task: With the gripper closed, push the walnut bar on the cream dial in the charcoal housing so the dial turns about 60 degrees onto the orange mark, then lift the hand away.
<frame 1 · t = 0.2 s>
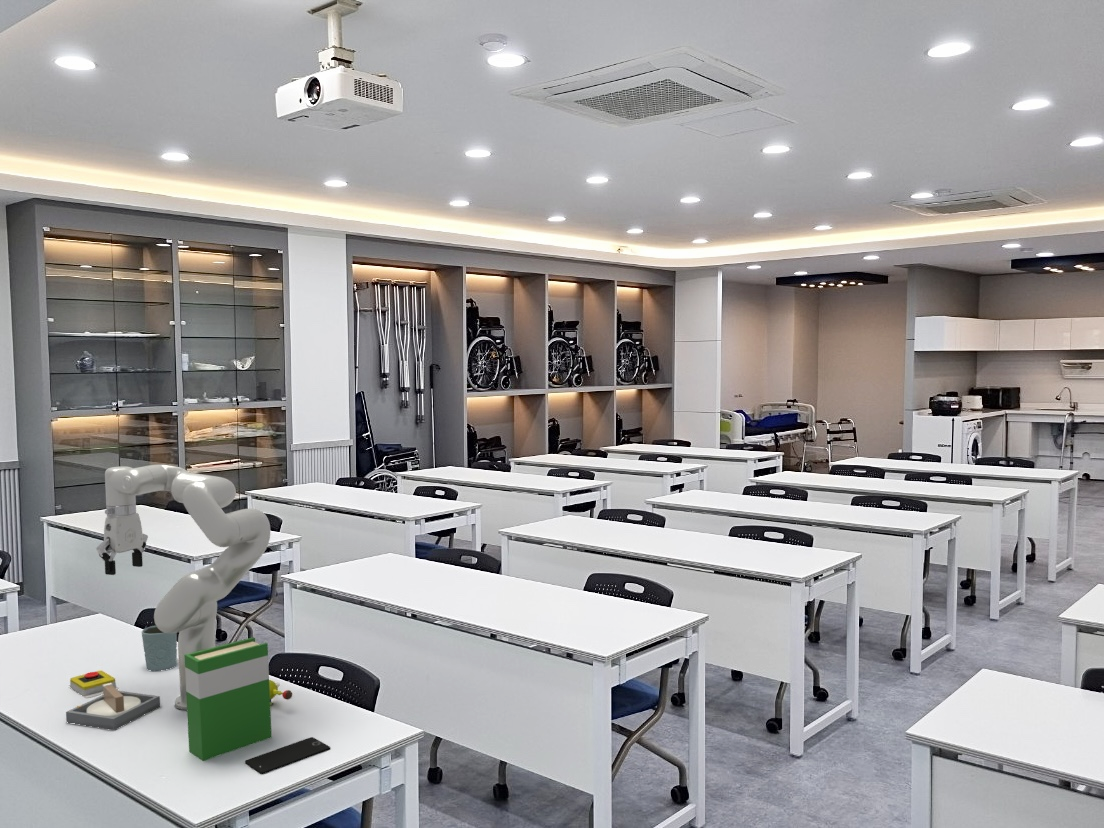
hand: (124, 570, 254), 36 cm above the table, tool pointing down, fingers open, 9 cm apart
toy figure: (268, 705, 245), on the table
dial housing: (114, 714, 241), on the table
hardback book: (231, 745, 221), on the table
emergency button: (93, 690, 261), on the table
cell phone: (288, 758, 214), on the table
teal cup: (161, 667, 278), on the table
dial: (113, 700, 240), point 4 cm above the table, hinge at 0.0°
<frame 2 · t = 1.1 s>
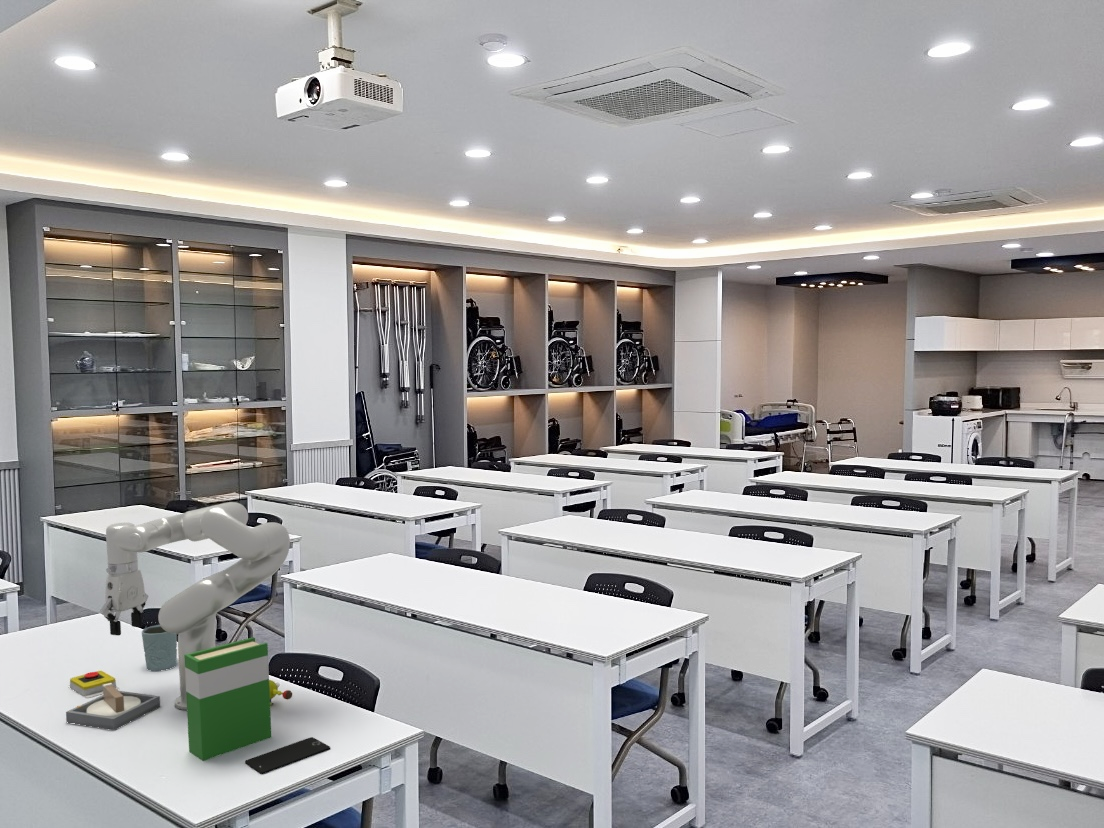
hand: (126, 630, 250), 20 cm above the table, tool pointing down, fingers open, 6 cm apart
nothing on the table moved.
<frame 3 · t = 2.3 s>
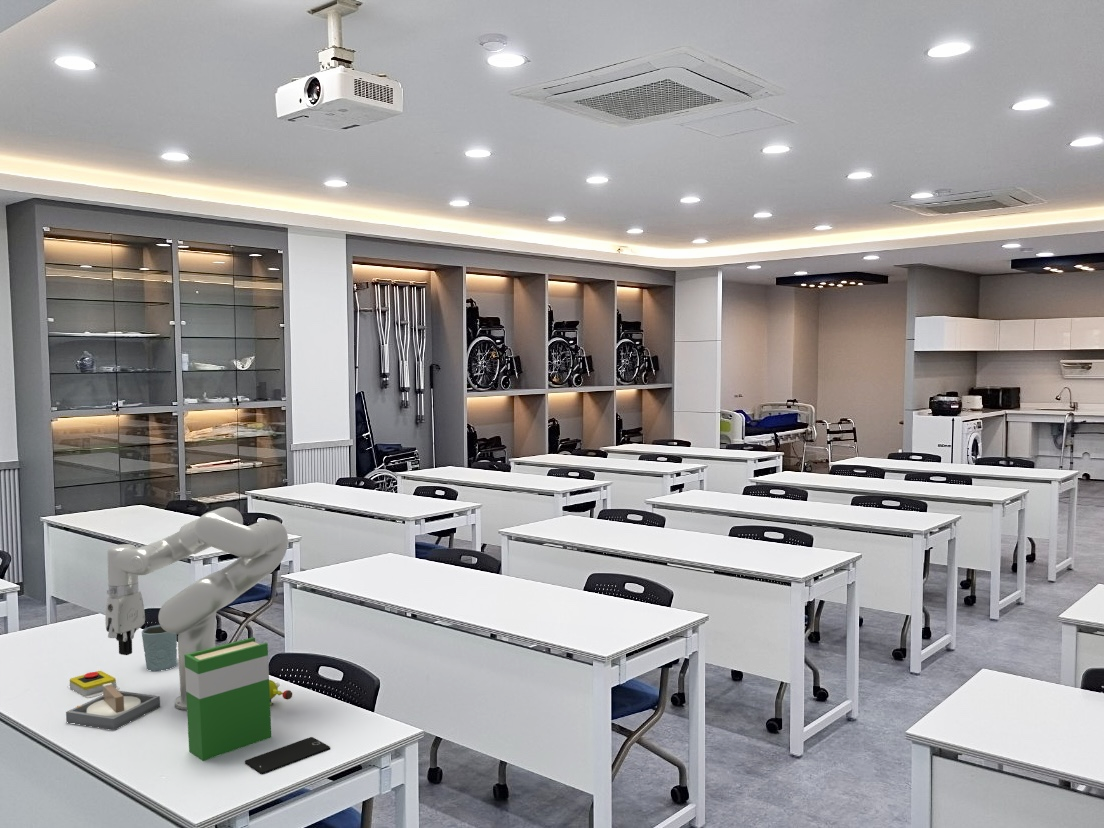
hand: (125, 653, 251), 13 cm above the table, tool pointing down, fingers closed
nothing on the table moved.
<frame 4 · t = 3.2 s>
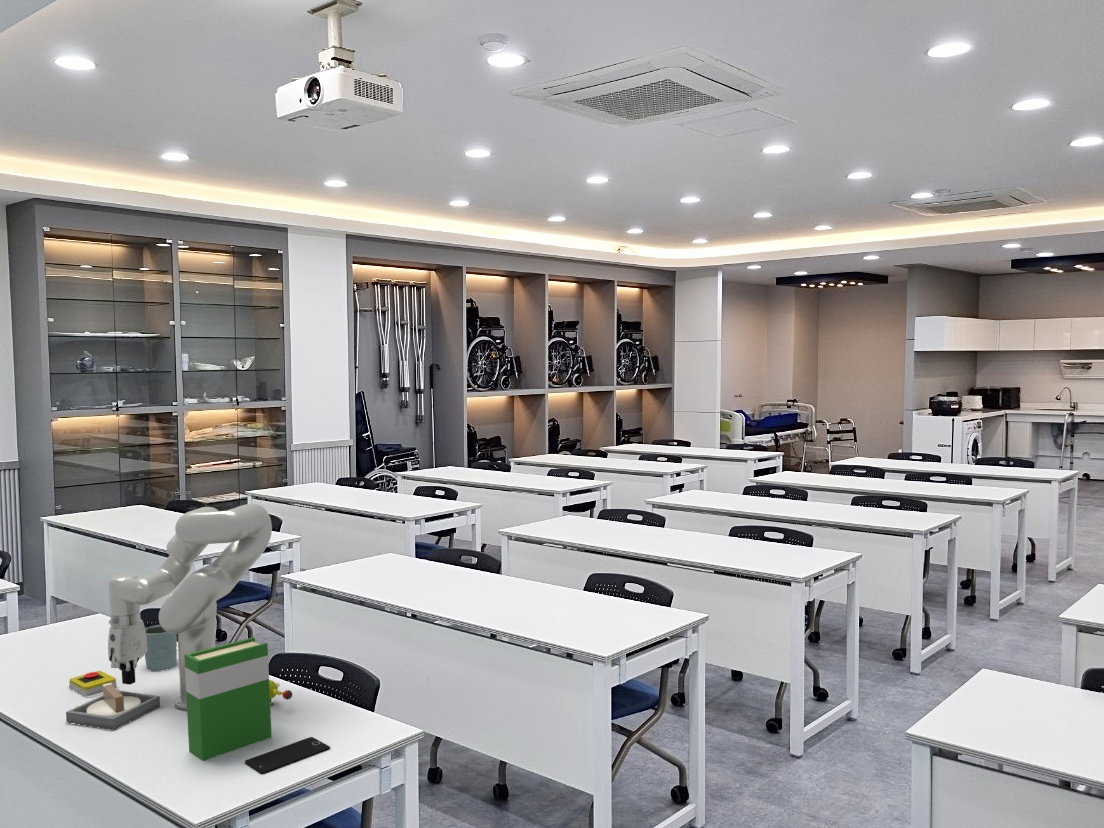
hand: (128, 683, 251), 5 cm above the table, tool pointing down, fingers closed
nothing on the table moved.
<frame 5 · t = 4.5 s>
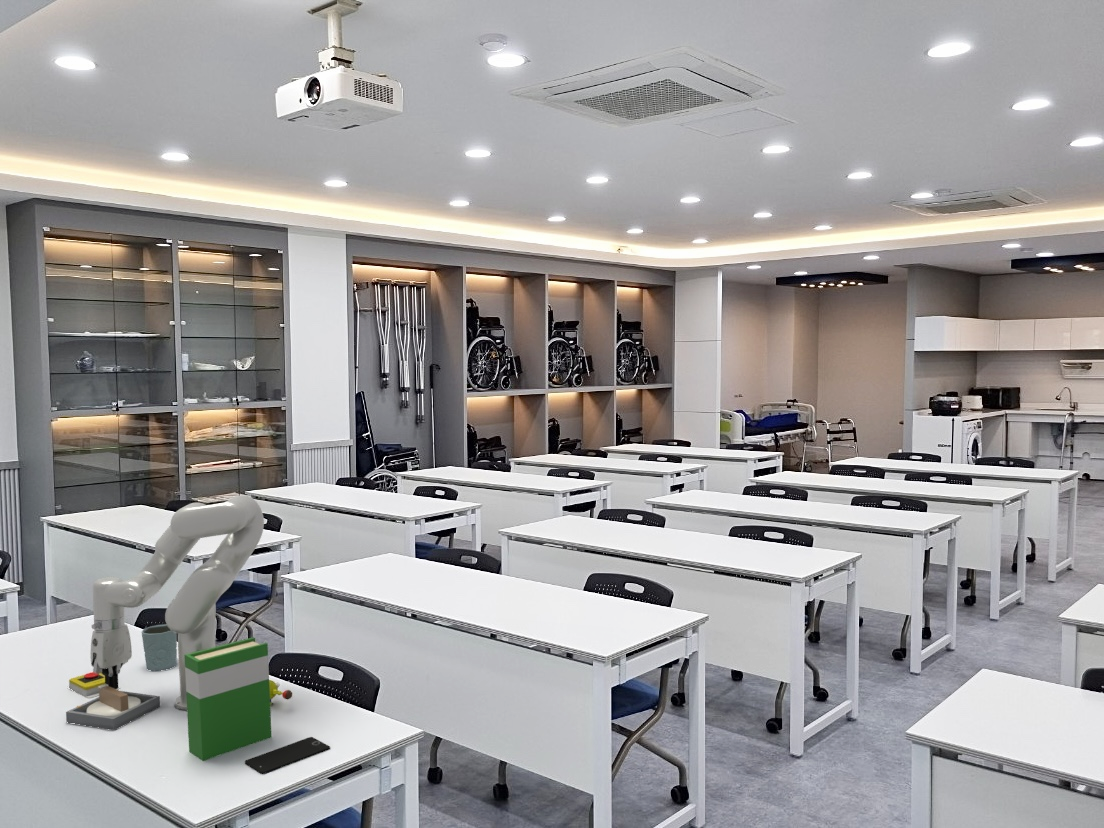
hand: (111, 688, 247), 5 cm above the table, tool pointing down, fingers closed
dial: (113, 700, 240), point 4 cm above the table, hinge at 11.4°, touching gripper
everything else where it was.
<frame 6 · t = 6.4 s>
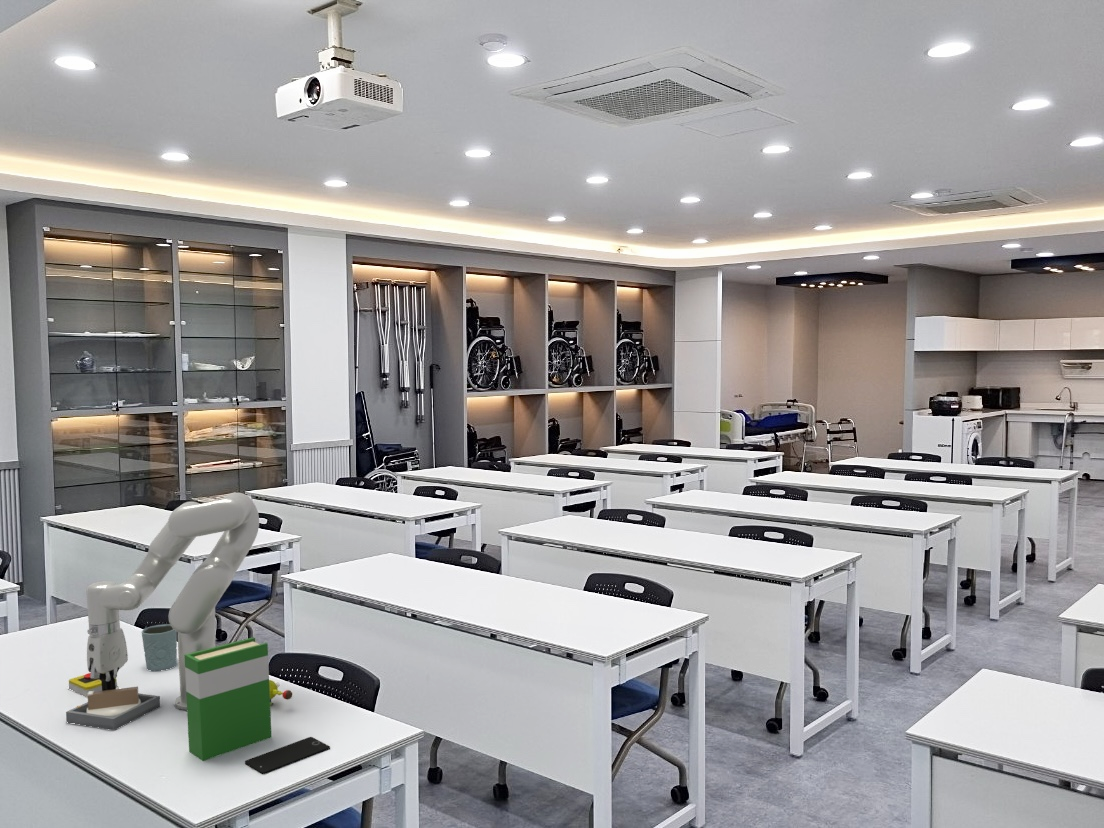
hand: (109, 693, 244), 4 cm above the table, tool pointing down, fingers closed
dial: (113, 700, 240), point 4 cm above the table, hinge at 68.0°
everything else where it was.
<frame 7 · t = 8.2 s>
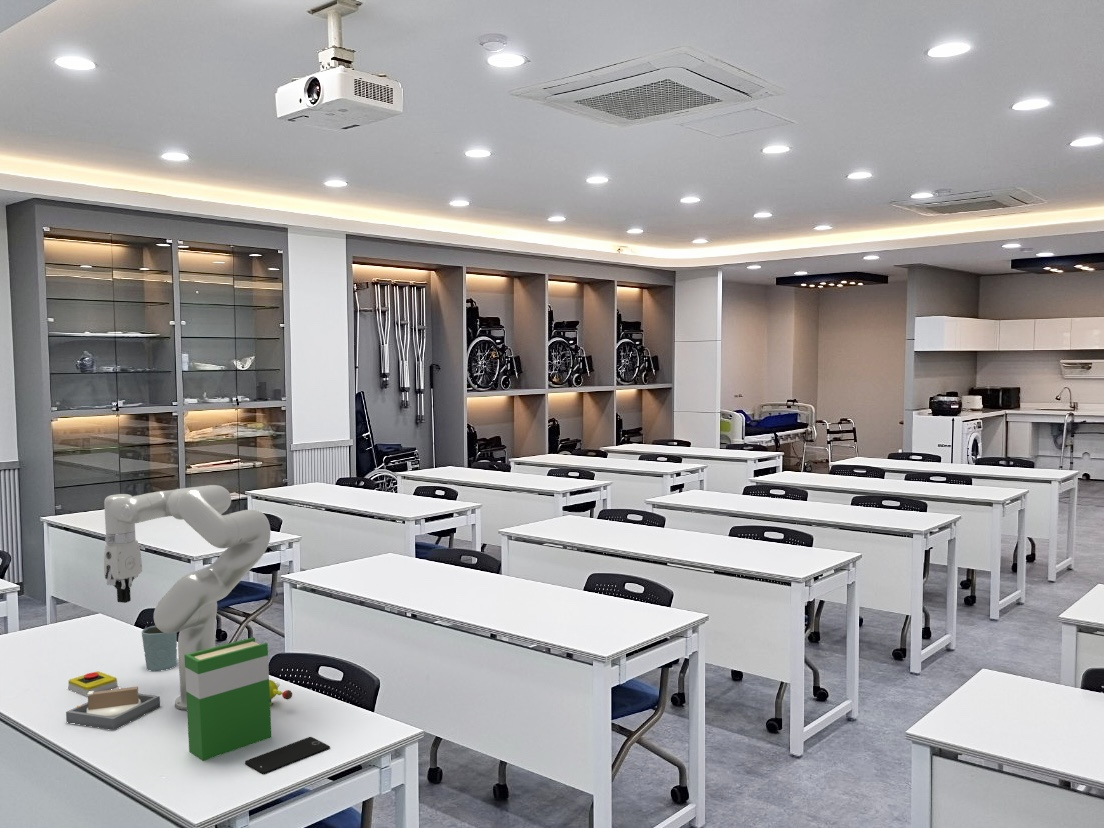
hand: (124, 601, 255), 26 cm above the table, tool pointing down, fingers closed
nothing on the table moved.
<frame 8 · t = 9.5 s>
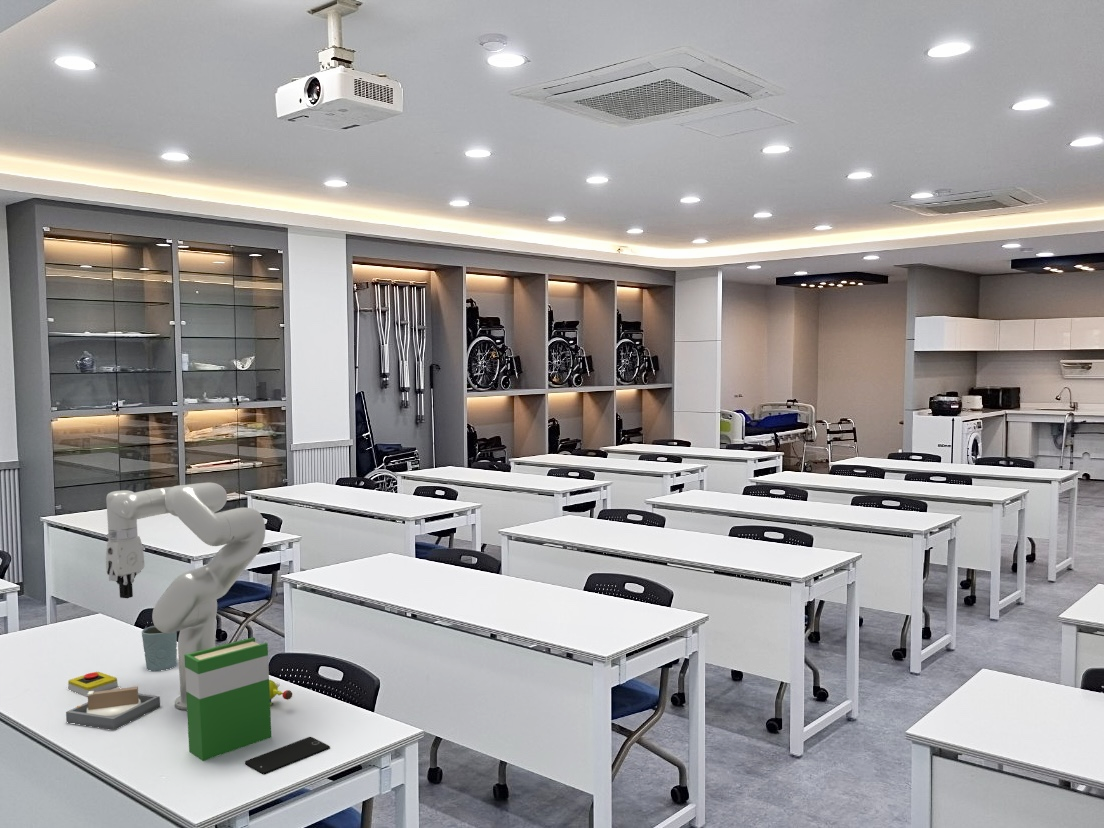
hand: (126, 597, 257), 27 cm above the table, tool pointing down, fingers closed
nothing on the table moved.
at the end: dial at +68° (first picture: +0°) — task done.
